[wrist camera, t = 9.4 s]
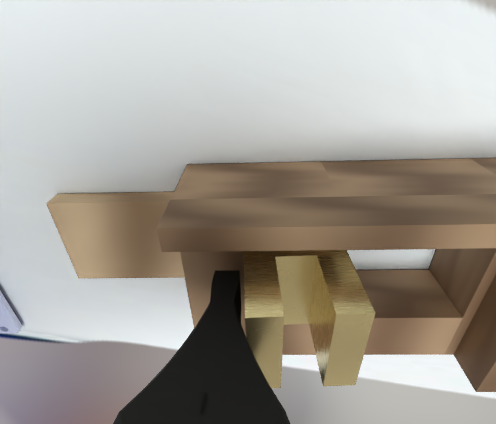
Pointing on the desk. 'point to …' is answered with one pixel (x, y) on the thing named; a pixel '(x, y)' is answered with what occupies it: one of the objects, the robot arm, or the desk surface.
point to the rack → (316, 242)
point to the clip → (307, 310)
